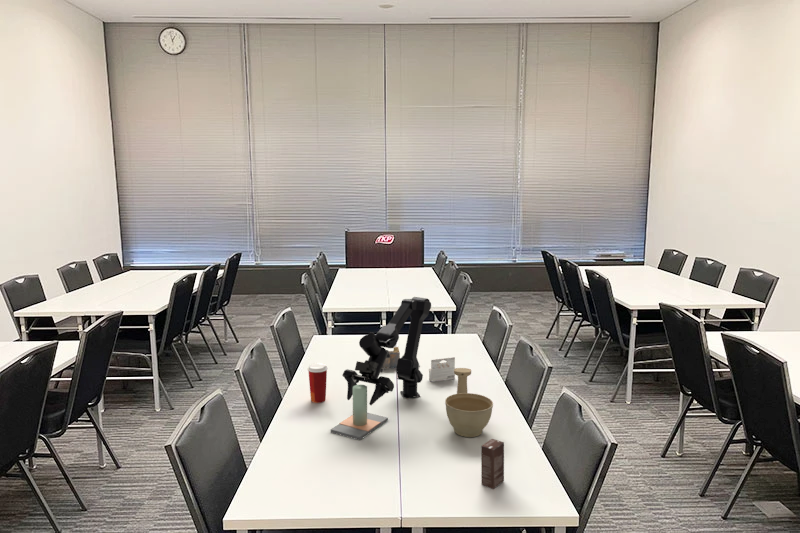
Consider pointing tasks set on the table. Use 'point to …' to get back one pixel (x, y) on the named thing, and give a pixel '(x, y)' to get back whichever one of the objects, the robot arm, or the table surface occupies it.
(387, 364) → the architectural model on board
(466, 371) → the handle
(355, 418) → the green cylinder
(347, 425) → the grey orange flat block
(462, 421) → the planter bowl
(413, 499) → the table surface
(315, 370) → the paper cup
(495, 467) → the box
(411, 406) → the table surface
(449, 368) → the ink cartridge box
